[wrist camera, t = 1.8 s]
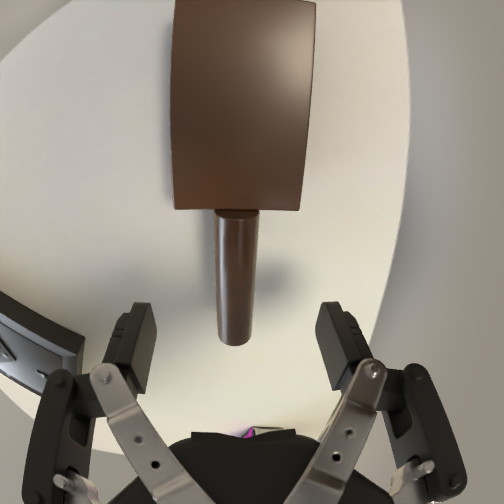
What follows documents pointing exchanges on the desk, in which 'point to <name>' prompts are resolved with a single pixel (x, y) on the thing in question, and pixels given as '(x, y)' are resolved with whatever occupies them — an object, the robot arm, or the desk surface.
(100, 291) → the desk surface
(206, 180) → the brush
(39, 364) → the picture frame
